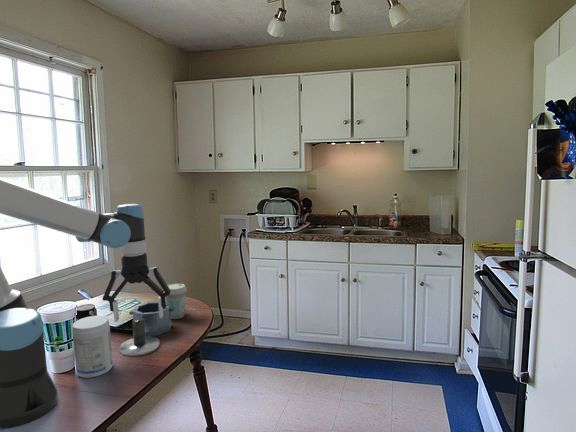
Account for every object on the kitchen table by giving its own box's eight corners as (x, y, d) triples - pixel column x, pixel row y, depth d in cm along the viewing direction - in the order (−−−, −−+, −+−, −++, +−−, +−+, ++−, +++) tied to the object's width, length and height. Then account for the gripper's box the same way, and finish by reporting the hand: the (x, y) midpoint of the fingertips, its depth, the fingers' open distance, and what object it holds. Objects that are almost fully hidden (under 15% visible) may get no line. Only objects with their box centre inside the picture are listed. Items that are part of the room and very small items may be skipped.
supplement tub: (91, 361, 121) (87, 314, 119) (119, 363, 119) (116, 315, 117) (68, 378, 111) (63, 327, 109) (99, 380, 110) (95, 329, 108)
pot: (173, 334, 139) (171, 312, 138) (127, 338, 136) (125, 315, 135) (176, 321, 151) (175, 300, 150) (134, 324, 148) (133, 303, 147)
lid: (156, 354, 125) (154, 326, 123) (115, 358, 123) (113, 329, 121) (161, 338, 136) (160, 312, 135) (124, 341, 134) (122, 314, 133)
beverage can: (75, 340, 135) (72, 306, 133) (96, 335, 139) (93, 302, 137) (79, 347, 130) (76, 312, 128) (101, 342, 134) (98, 307, 132)
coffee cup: (181, 321, 150) (179, 290, 149) (160, 319, 152) (158, 289, 151) (191, 313, 159) (190, 283, 157) (172, 311, 161) (170, 282, 159)
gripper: (176, 248, 131) (180, 310, 134) (94, 253, 127) (101, 317, 130) (173, 253, 124) (178, 319, 127) (87, 259, 120) (94, 326, 123)
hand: (139, 318), depth 128 cm, fingers open, 13 cm apart
